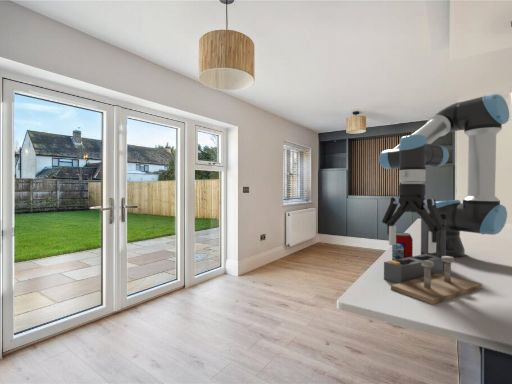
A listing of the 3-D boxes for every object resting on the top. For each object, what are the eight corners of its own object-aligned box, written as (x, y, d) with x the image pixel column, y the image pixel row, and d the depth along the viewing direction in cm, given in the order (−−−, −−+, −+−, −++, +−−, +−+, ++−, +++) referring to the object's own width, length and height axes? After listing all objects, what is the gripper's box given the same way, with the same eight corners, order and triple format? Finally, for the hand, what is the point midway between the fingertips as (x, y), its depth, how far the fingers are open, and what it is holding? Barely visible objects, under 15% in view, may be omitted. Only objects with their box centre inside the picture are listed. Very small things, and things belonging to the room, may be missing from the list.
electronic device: (447, 270, 100) (448, 213, 99) (428, 269, 101) (429, 213, 100) (436, 263, 109) (436, 211, 108) (419, 262, 110) (419, 211, 109)
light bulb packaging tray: (425, 269, 101) (425, 252, 101) (443, 273, 96) (443, 255, 96) (383, 279, 91) (384, 260, 91) (401, 284, 86) (401, 264, 85)
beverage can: (388, 263, 109) (388, 232, 109) (405, 262, 109) (405, 232, 109) (398, 268, 102) (399, 235, 102) (416, 267, 103) (416, 235, 102)
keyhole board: (439, 276, 93) (439, 250, 93) (482, 288, 82) (482, 259, 82) (390, 289, 82) (390, 260, 82) (433, 304, 71) (433, 271, 71)
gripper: (372, 183, 101) (371, 242, 101) (445, 182, 79) (444, 258, 79) (386, 183, 105) (385, 240, 105) (460, 183, 83) (459, 255, 83)
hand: (410, 248), depth 92 cm, fingers open, 13 cm apart
